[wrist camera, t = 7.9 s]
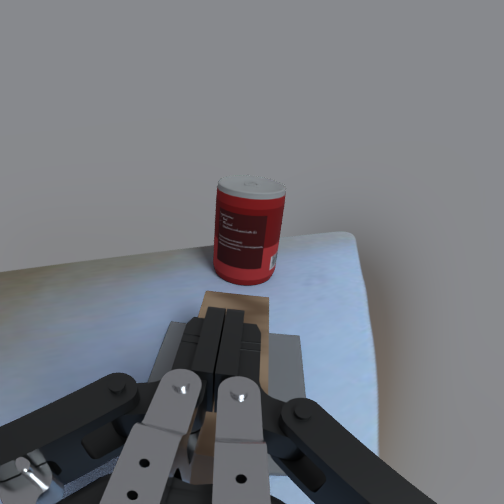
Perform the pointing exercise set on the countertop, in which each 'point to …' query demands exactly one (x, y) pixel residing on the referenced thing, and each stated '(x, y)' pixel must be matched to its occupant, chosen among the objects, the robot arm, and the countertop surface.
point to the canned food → (247, 228)
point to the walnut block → (259, 315)
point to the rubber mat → (279, 373)
